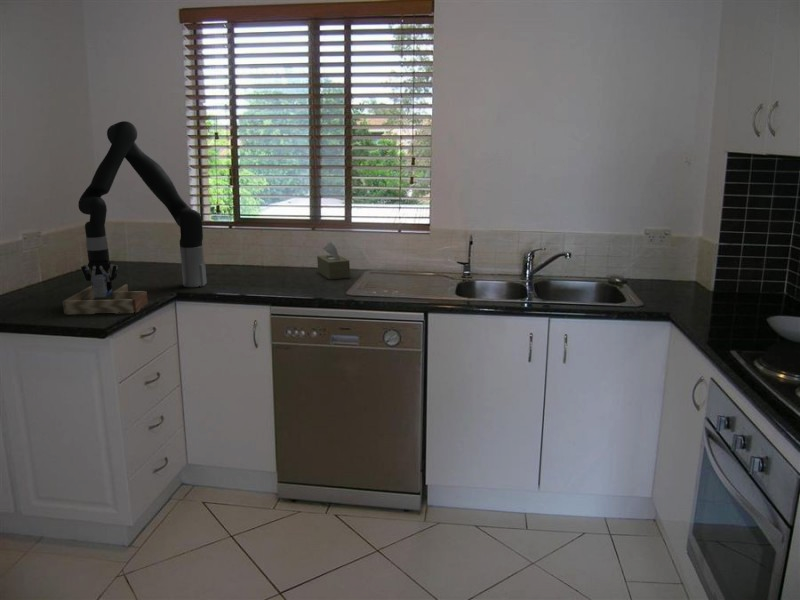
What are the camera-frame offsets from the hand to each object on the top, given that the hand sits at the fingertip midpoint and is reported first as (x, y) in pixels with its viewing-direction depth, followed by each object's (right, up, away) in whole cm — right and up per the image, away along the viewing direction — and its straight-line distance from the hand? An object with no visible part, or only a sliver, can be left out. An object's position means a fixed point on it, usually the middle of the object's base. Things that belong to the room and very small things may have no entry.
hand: (102, 290), depth 260 cm
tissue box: (+87, +8, +46) cm, 98 cm away
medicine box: (0, -2, +1) cm, 2 cm away
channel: (+6, -5, -5) cm, 9 cm away
